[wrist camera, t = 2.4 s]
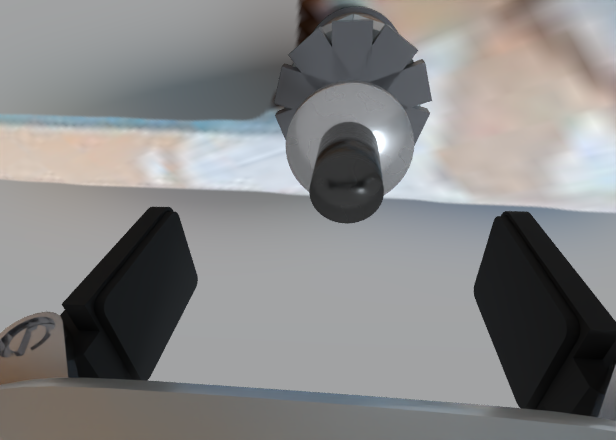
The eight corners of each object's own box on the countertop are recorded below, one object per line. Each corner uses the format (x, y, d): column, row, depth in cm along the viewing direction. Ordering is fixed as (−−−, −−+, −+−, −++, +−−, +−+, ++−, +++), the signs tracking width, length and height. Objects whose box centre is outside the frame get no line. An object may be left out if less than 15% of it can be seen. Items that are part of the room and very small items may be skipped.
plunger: (400, 49, 22) (441, 112, 11) (392, 140, 25) (417, 256, 14) (305, 52, 22) (258, 114, 12) (309, 141, 26) (276, 251, 15)
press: (409, 3, 31) (444, 16, 19) (397, 129, 37) (416, 201, 25) (300, 9, 32) (266, 25, 20) (307, 130, 39) (283, 199, 26)
